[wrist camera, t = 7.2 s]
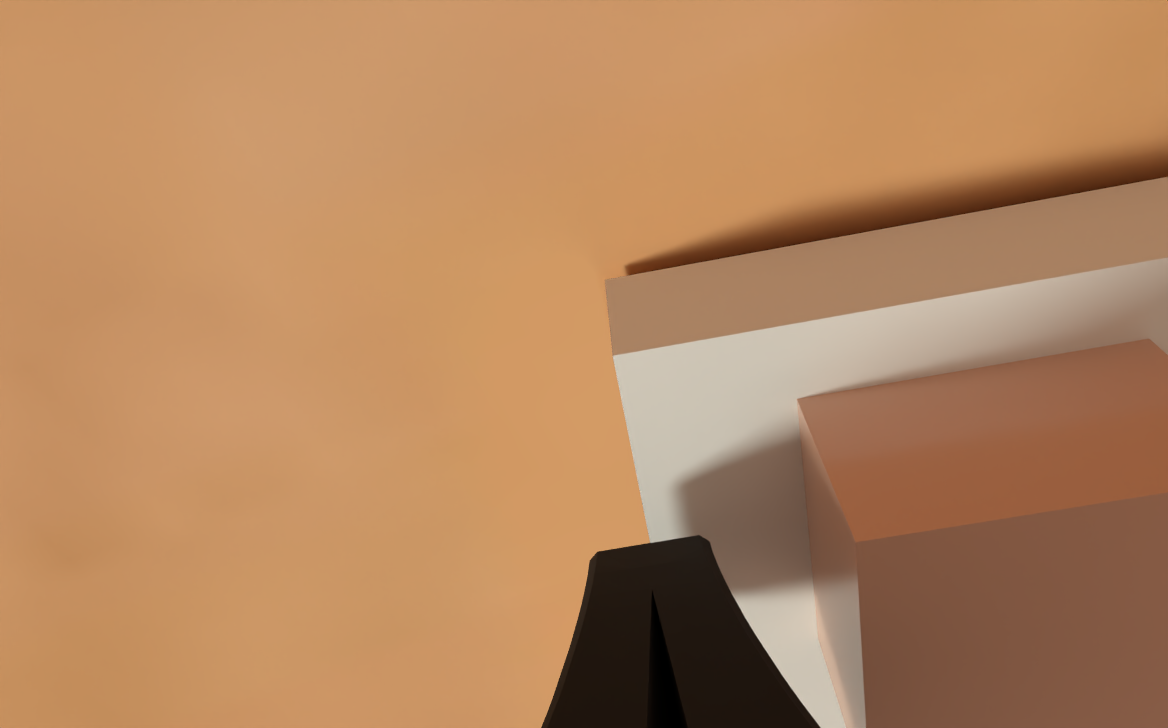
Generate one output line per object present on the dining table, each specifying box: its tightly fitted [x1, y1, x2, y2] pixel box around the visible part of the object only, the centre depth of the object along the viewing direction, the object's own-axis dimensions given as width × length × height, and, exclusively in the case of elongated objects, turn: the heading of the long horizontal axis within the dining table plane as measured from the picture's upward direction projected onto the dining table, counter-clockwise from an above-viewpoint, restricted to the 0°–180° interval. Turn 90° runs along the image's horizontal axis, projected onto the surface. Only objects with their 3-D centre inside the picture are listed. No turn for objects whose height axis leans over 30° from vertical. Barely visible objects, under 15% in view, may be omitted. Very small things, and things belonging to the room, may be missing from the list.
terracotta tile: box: [797, 339, 1168, 728], centre depth 11 cm, size 4×4×2 cm
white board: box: [605, 177, 1168, 728], centre depth 14 cm, size 11×9×2 cm
